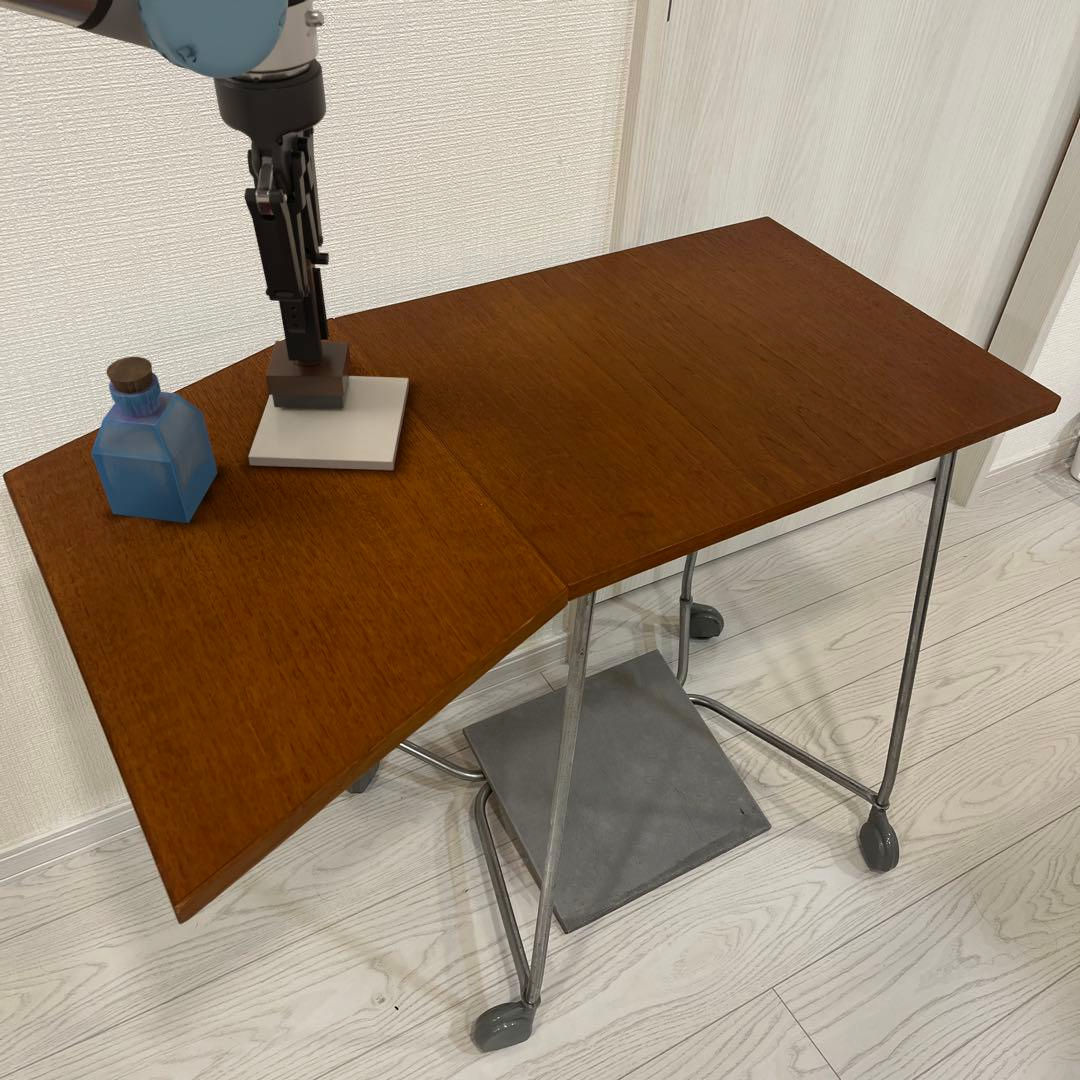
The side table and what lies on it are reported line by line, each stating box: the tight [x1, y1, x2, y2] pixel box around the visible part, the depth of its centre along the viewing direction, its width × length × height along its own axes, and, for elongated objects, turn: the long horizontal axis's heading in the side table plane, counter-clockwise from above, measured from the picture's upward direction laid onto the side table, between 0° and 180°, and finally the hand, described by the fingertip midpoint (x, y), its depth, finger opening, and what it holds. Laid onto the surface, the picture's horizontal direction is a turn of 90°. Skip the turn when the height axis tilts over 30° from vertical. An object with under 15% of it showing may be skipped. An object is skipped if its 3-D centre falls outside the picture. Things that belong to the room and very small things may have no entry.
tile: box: [248, 375, 410, 471], centre depth 88 cm, size 12×12×1 cm
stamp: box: [265, 258, 351, 408], centre depth 86 cm, size 6×5×12 cm
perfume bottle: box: [91, 356, 219, 524], centre depth 78 cm, size 6×6×12 cm
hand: (309, 347), depth 87 cm, fingers closed on stamp, 3 cm apart
